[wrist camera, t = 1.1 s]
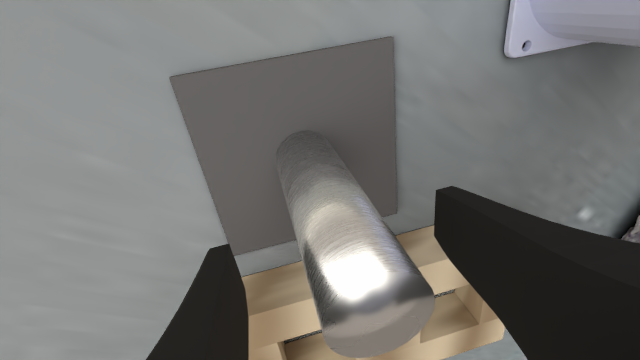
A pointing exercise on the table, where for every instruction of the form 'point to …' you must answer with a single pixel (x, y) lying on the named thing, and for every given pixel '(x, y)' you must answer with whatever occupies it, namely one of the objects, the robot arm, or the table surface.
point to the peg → (349, 254)
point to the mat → (290, 130)
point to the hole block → (414, 356)
